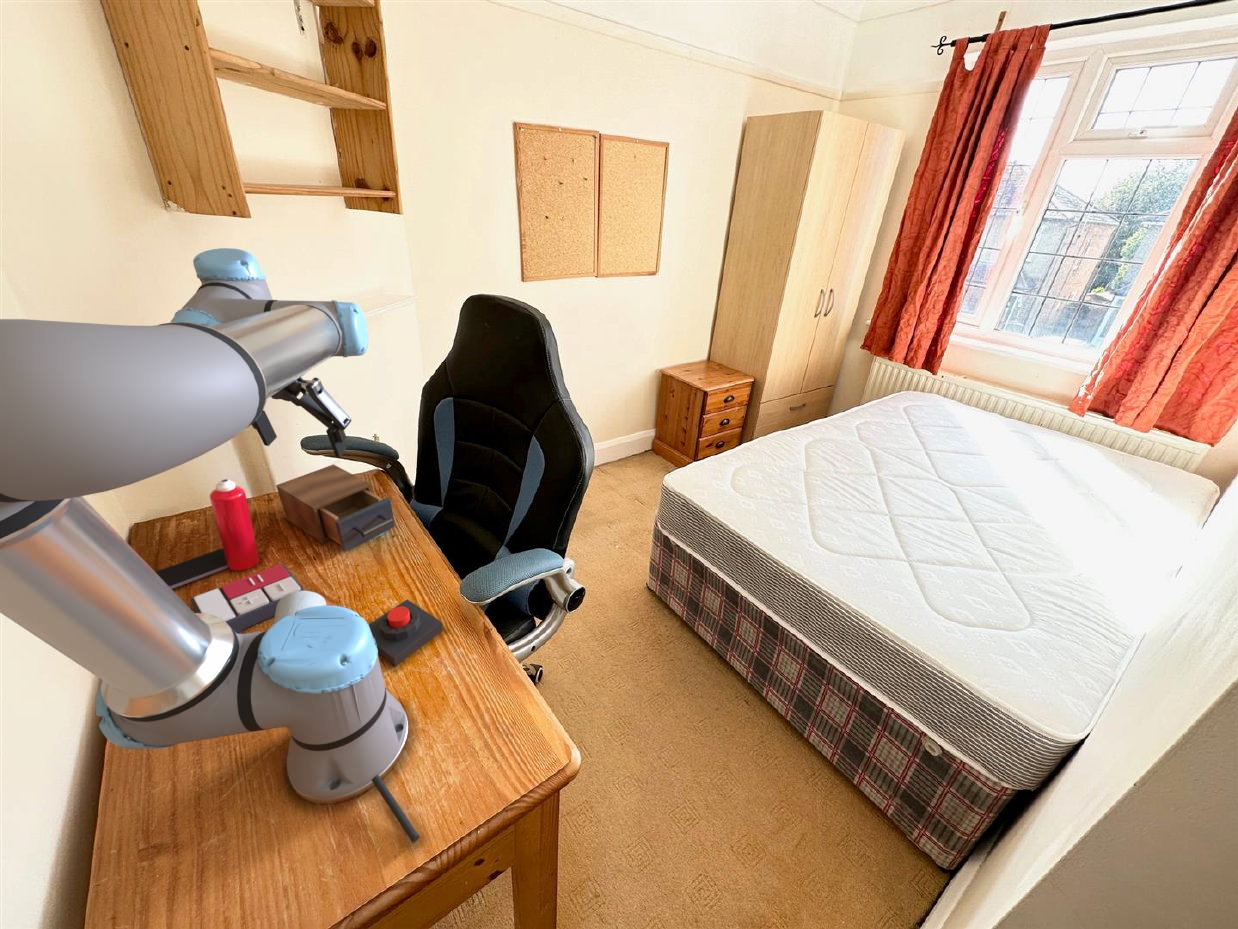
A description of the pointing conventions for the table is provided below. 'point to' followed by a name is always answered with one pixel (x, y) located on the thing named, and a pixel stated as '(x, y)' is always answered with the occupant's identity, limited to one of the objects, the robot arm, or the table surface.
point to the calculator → (248, 598)
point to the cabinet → (317, 496)
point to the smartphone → (193, 569)
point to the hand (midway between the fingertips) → (306, 446)
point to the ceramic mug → (297, 603)
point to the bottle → (234, 525)
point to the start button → (398, 617)
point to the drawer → (356, 519)
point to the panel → (404, 634)
